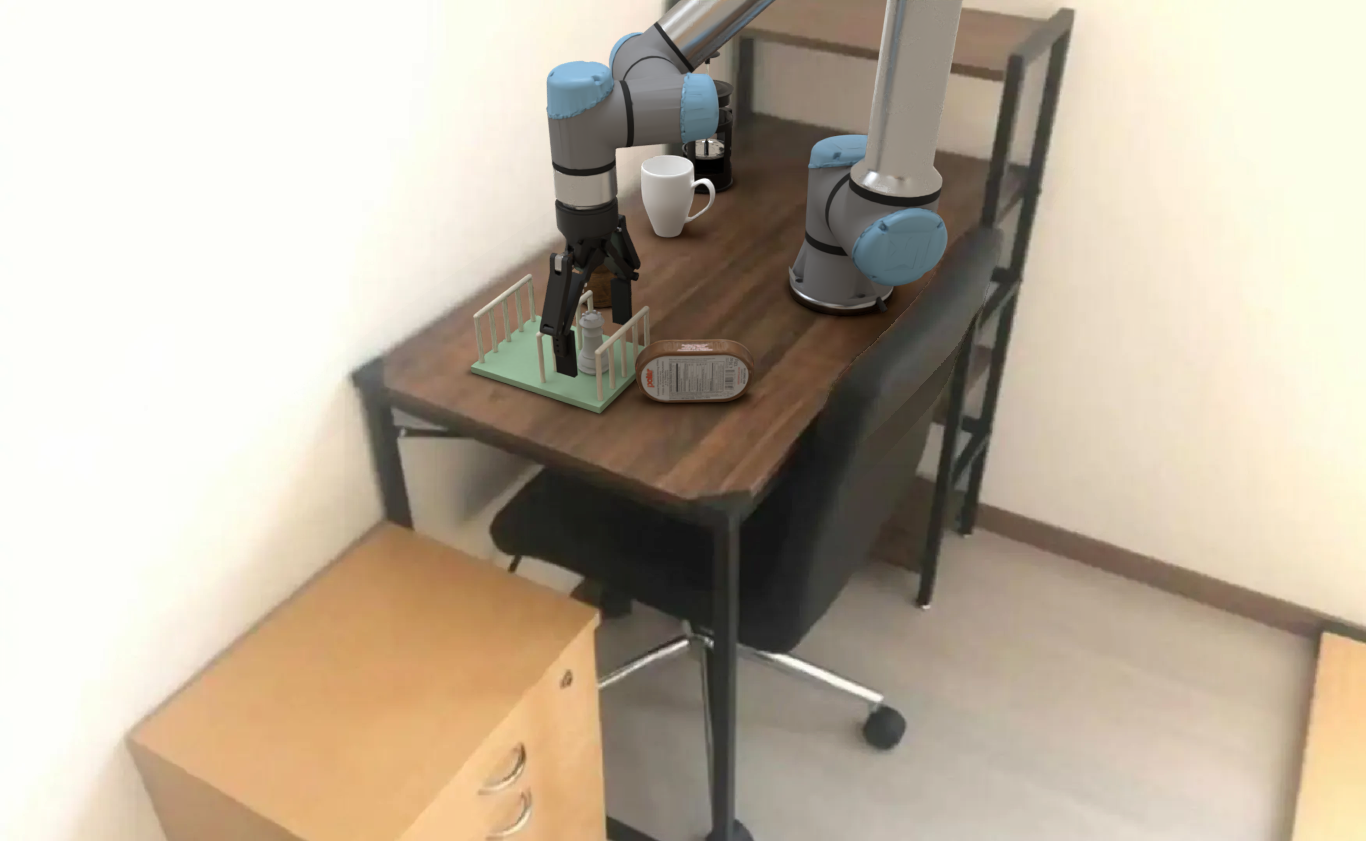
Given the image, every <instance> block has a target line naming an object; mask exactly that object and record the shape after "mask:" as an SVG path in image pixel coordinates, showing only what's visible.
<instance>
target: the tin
mask: <svg viewBox="0 0 1366 841" xmlns="http://www.w3.org/2000/svg"><path fill="white" fill-rule="evenodd" d="M644 347H645V346H644ZM754 365H755V363H754V358H753V356H752V353H751V352H750V350H749V349H748V348H747V347H746V345H745V346H744V345H743V344H742V343H740V342H737V341H735V340H732V339H725V338H724V339H722V338H720V339H719V338H718V339H717V338H716V339H661V340H657V341H655V342H651V343H650V345H648V346H647V347H645V348H644V349H643V350H642V351H641V352H640V353H639V355H638V357H637V359H636V363H635V371H636V379H635V380H636V384H637V386H638V388H639V390H640V391H641V392H642V393H643V394H644V395H645V396H646V397H648V398H649V399H650V400H653V401H656V402H659V403H666V404H667V403H668V404H669V403H726V402H731V401H733V400H736V399H739V398H740V397H742V396H744V394H746V393H747V392H748V390H749V389H750V388H751V386H752V385H753V381H754V378H755V369H754V368H755V366H754Z"/></svg>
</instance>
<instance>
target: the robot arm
mask: <svg viewBox="0 0 1366 841" xmlns="http://www.w3.org/2000/svg"><path fill="white" fill-rule="evenodd" d="M774 2H776V0H679V1H678V2H677V3H675V4H674V5H673V6H672V7H671V8H670V9H668V11H667V12H665V13H664V14H663V15H662V16H661V17H660V18H659V19H658V20H657V21H655V22H654V23H653V24H651V25H650V26H649V27H648V28H647V29H646V30H645V31H642V32H641V31H637V32H631V33H627V34H626V35H623V36H622V37H620V38H619V39H618V40H617V41H616V42H615V43H614V44H613V46H612V48H611V50H610V53H609V58H608V66H607V65H606V64H604V63H602V62H597V61H585V60H575V61H574V60H573V61H568V62H564V63H561V64H558V65H557V66H555V67H553V68H552V69H551V70H550V72H548V75H547V76H546V105H547V106H546V108H545V110H546V114H547V125H548V134H549V135H548V137H549V145H550V156H551V166H552V178H553V190H554V191H553V193H554V197H555V198H556V199H555V201H554V208H555V221H556V222H555V223H556V227H557V229H558V231H559V232H560V233H561V234H562V236H563V237H564V239H565V245H564V250H563V252H561V253H557V252H551V253H550V255H549V274H548V280H547V285H546V286H547V287H546V290H545V296H544V301H543V307H542V313H541V317H542V318H541V323H540V329H539V331H540V333H543V334H546V335H549V336H552V339H553V350H554V354H555V359H556V371H557V373H561V374H564V375H567V376H570V377H574V378H575V377H576V376H577V375H578V369H577V356H576V343H575V331H574V330H570V329H571V326H573V322H574V319H575V317H576V310H577V307H578V304H579V300H580V297H581V294H582V291H583V288H584V285H585V283H588V282H589V280H590V278H591V274H592V272H593V271H594V270H595V269H596V268H597V267H598V266H601V265H602V264H604V265H605V266H606V267H607V268H608V269H609V270H610V271H611V272H612V273H613V275H614V276H617V278H612V279H611V280H610V284H611V303H612V305H611V321H612V323H613V324H617V325H620V326H623V325H625V324H626V323H627V322H628V321H629V320H630V319H631V318H632V317H633V301H632V297H633V296H632V295H633V292H632V282H637V281H639V278H640V273H639V272H637V271H638V270H640V268H641V266H642V264H641V260H640V257H639V255H638V253H637V250H636V247H635V245H634V242H633V240H632V238H631V235H630V233H629V231H628V227H627V219H626V218H627V217H626V215H624V214H621V213H619V199H618V197H617V196H618V194H619V186H618V172H617V171H618V170H617V155H616V154H617V149H627V148H628V149H629V148H634V147H645V146H646V147H647V146H657V145H658V146H659V145H668V144H681V143H682V144H683V143H688V142H690V141H696V140H702V139H711V138H712V137H713V136H714V135H715V134H714V133H715V132H716V129H717V126H718V119H719V106H718V96H717V91H716V87H715V84H714V82H713V80H714V79H713V78H712V76H710V75H709V74H708V75H707V74H706V73H694V72H695V71H696V69H698V68H699V67H700V66H701V65H702V64H704V63H705V61H706V60H707V59H708V58H709V57H710V56H712V55H713V54H714V53H715V52H716V51H719V50H720V49H721V48H722V47H723V46H725V45H726V44H727V43H728V42H729V41H730V40H732V39H733V38H734V37H735V36H736V35H737V34H739V33H740V32H741V31H742V30H743V29H744V28H745V27H747V25H749V24H750V23H752V21H753V20H755V19H756V18H757V17H758V16H759V15H761V13H763V12H764V11H765V10H767V9H768V8H769V7H770V6H771V5H772V4H774ZM963 3H964V0H886V3H885V4H886V5H885V12H884V18H883V25H882V32H881V38H880V45H879V53H878V58H877V59H878V60H877V66H876V73H875V81H874V87H873V88H874V89H873V95H872V102H871V108H870V116H869V123H868V131H867V134H843V135H836V136H834V135H833V136H830V137H826V138H823V139H822V140H819V141H817V142H816V143H815V144H814V145H813V147H812V148H811V151H810V158H809V164H808V165H807V168H808V180H807V196H806V211H805V229H804V240H803V242H802V244H801V247H800V249H799V252H798V254H797V257H796V258H795V261H794V263H793V265H792V268H791V266H790V265H789V266H788V273H789V280H788V281H789V282H788V290H789V293H790V295H791V296H792V298H793V299H794V300H795V301H797V303H799V304H801V305H802V306H804V307H806V308H808V309H810V310H813V311H816V312H818V313H823V314H829V315H837V316H857V315H864V314H869V313H873V312H876V311H877V310H880V312H881V313H882V314H883V313H885V312H887V311H888V307H887V306H886V305H887V304H889V303H890V302H891V300H892V298H893V294H894V287H898V286H903V285H907V284H911V283H914V282H916V281H918V280H919V279H921V278H923V276H924V275H925V274H926V273H927V272H931V271H932V270H933V269H934V267H936V266H937V264H938V263H939V262H940V261H941V259H942V257H943V255H944V253H945V251H946V248H947V244H948V231H947V228H946V224H945V221H944V220H943V218H942V217H941V216H940V215H939V214H938V210H939V203H940V198H941V193H942V188H943V177H942V175H941V174H940V172H939V171H938V170H937V169H936V167H935V166H934V163H935V158H936V157H935V156H936V151H937V146H938V140H939V134H940V130H941V125H942V124H941V123H942V118H943V113H944V108H945V103H946V102H945V101H946V95H947V92H948V91H947V90H948V85H949V79H950V74H951V69H952V64H953V58H954V52H955V48H956V41H957V37H958V36H957V35H958V31H959V25H960V19H961V14H962V8H963ZM573 270H576V271H577V272H575V271H573ZM636 270H637V271H636ZM579 271H581V272H583V273H582V274H579ZM563 322H564V324H563Z"/></svg>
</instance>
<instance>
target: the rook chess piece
mask: <svg viewBox="0 0 1366 841" xmlns="http://www.w3.org/2000/svg"><path fill="white" fill-rule="evenodd" d="M605 322H606V320H605V318H604V317H603V316H602V312H601V311H597V309H593V310H592V313H589V310H588V309H587V310H586V311H584V312H582V313H581V319H580V321H579V323H580V325H581V326H582V329H583V330H582V334H583V336H584V340H583V348H582V350H581V352H580V354H579V356H578V368H579V369H580V370H581V371H582V372H583V373H585V374H587V375H596V363H595V351H596V350H597V349H598V348H599V347H600V346H601V345H602V344H603V339H602V334H603V333H604V329H603V328H602V327H603V325H604V324H605ZM603 335H604V334H603ZM601 369H602V374H603V373H605V372H606V371H608V369H609V358H608V352H607V349H606V350H605V351H604V352H603V353H602V354H601Z"/></svg>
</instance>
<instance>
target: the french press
mask: <svg viewBox="0 0 1366 841" xmlns="http://www.w3.org/2000/svg"><path fill="white" fill-rule="evenodd" d="M720 55H721V52H720V51H719V50H717V51H716V52H715V53H714V54H713V55H712V56H710V57H709V58H708V59H707V60H706V61H705V62H704V65H706V66H705V74H707V75H709V65H710V64H711V59H715V58H718V57H720ZM712 80H713V82H714V84H715V87H716V91H717V96H718V106H719V119H718V126H717V129H716V132H715V133H714V135H715V134H716V138H708V139H702V140H696V141H690V142H688V143H683V142H682V147H681V149H682V157H683V158H686V159H688V160H690V161H691V162H692V164H693V166H694V182H695V181H698V180H700V179H708V180H710V181H711V182H712V184H713V186H714V189H715V194H717V193H721V192H724V191H727V190H729V189H731V187H732V186H733V183H734V179H733V163H732V162H731V157H732V141H733V140H732V139H733V126H734V115H733V108H731V107H727V106H729V105H730V104H731V102H732V95H733V93H734V91H735V88H734V86H733V84H731V83H730V82H727V81H724V80H719V79H712ZM694 194H704V195H706V194H707V195H710V191H709V189H708V187H707V186H706V185H705V184H699V185H698V186H696V187H695V189H694Z"/></svg>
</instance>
